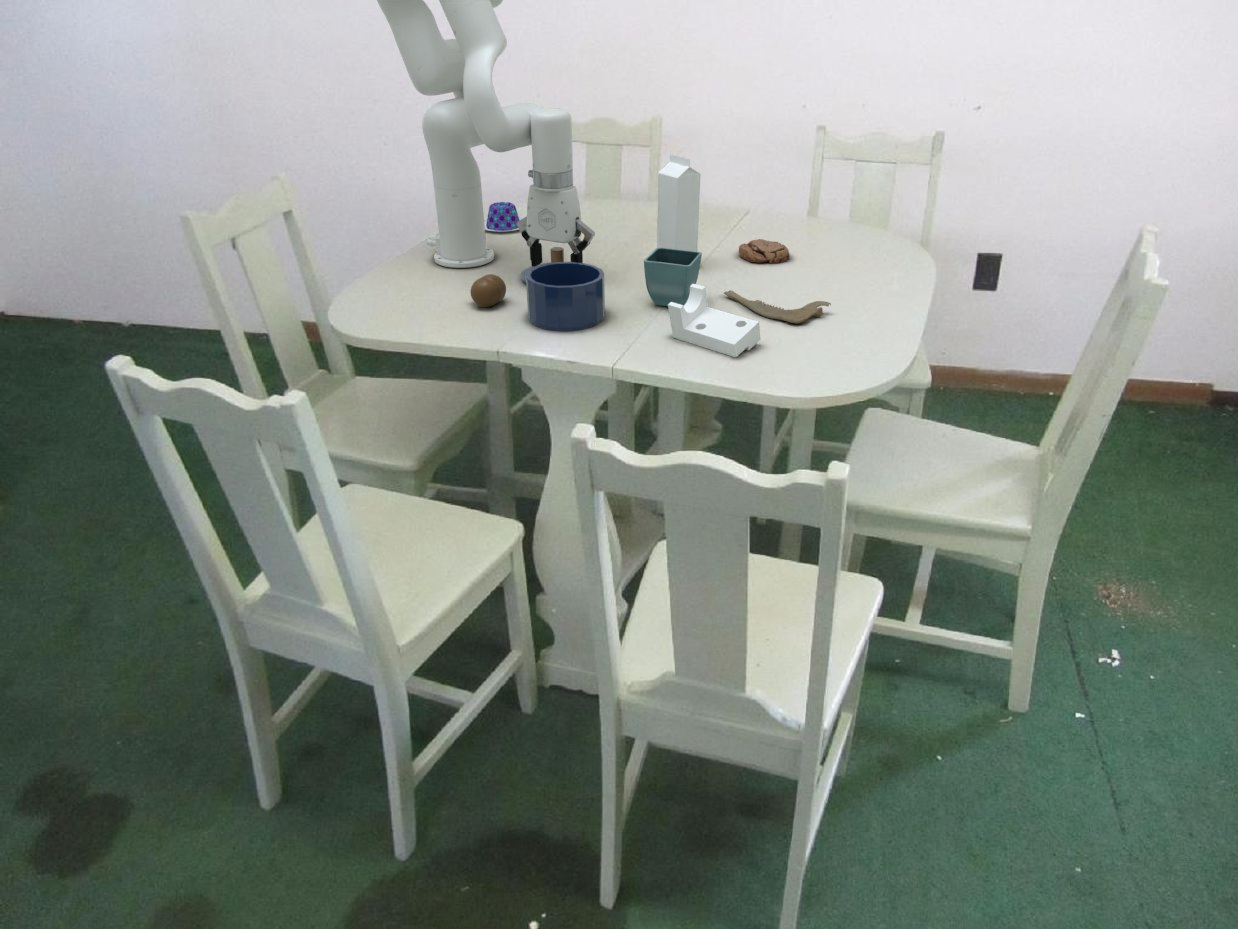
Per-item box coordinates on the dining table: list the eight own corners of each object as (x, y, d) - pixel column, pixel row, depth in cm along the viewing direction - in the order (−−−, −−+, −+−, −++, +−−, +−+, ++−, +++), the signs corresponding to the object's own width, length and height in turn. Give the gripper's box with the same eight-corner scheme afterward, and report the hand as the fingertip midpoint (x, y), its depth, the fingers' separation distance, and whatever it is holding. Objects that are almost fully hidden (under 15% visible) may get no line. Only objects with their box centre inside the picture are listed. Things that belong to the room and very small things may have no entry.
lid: (507, 284, 178) (505, 253, 175) (545, 263, 189) (544, 234, 186) (571, 296, 172) (570, 264, 169) (607, 273, 184) (607, 243, 180)
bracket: (673, 341, 156) (667, 304, 151) (698, 320, 159) (693, 283, 154) (736, 362, 148) (732, 323, 143) (760, 339, 152) (757, 301, 147)
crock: (513, 323, 161) (511, 279, 157) (553, 299, 171) (552, 257, 167) (580, 336, 155) (579, 292, 151) (617, 310, 166) (617, 268, 162)
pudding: (512, 236, 206) (510, 213, 203) (467, 230, 210) (465, 207, 208) (538, 223, 215) (537, 201, 213) (495, 217, 220) (493, 195, 217)
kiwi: (490, 313, 165) (488, 284, 162) (466, 308, 167) (463, 280, 164) (514, 299, 171) (512, 271, 168) (490, 295, 173) (488, 267, 170)
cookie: (791, 264, 188) (792, 250, 187) (740, 264, 189) (741, 249, 187) (785, 249, 197) (787, 236, 195) (736, 249, 197) (737, 235, 196)
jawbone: (816, 332, 158) (816, 321, 157) (706, 314, 166) (706, 304, 165) (830, 311, 164) (831, 300, 163) (724, 295, 173) (724, 285, 171)
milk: (674, 273, 184) (677, 161, 173) (656, 265, 188) (657, 155, 177) (697, 267, 187) (701, 156, 176) (678, 259, 191) (681, 151, 180)
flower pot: (700, 297, 172) (702, 251, 167) (688, 313, 164) (690, 265, 160) (656, 292, 174) (657, 246, 169) (642, 308, 167) (642, 260, 162)
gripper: (503, 178, 172) (509, 267, 181) (583, 188, 165) (585, 280, 174) (524, 170, 177) (529, 256, 186) (603, 179, 171) (604, 269, 179)
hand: (556, 267), depth 180 cm, fingers open, 8 cm apart
